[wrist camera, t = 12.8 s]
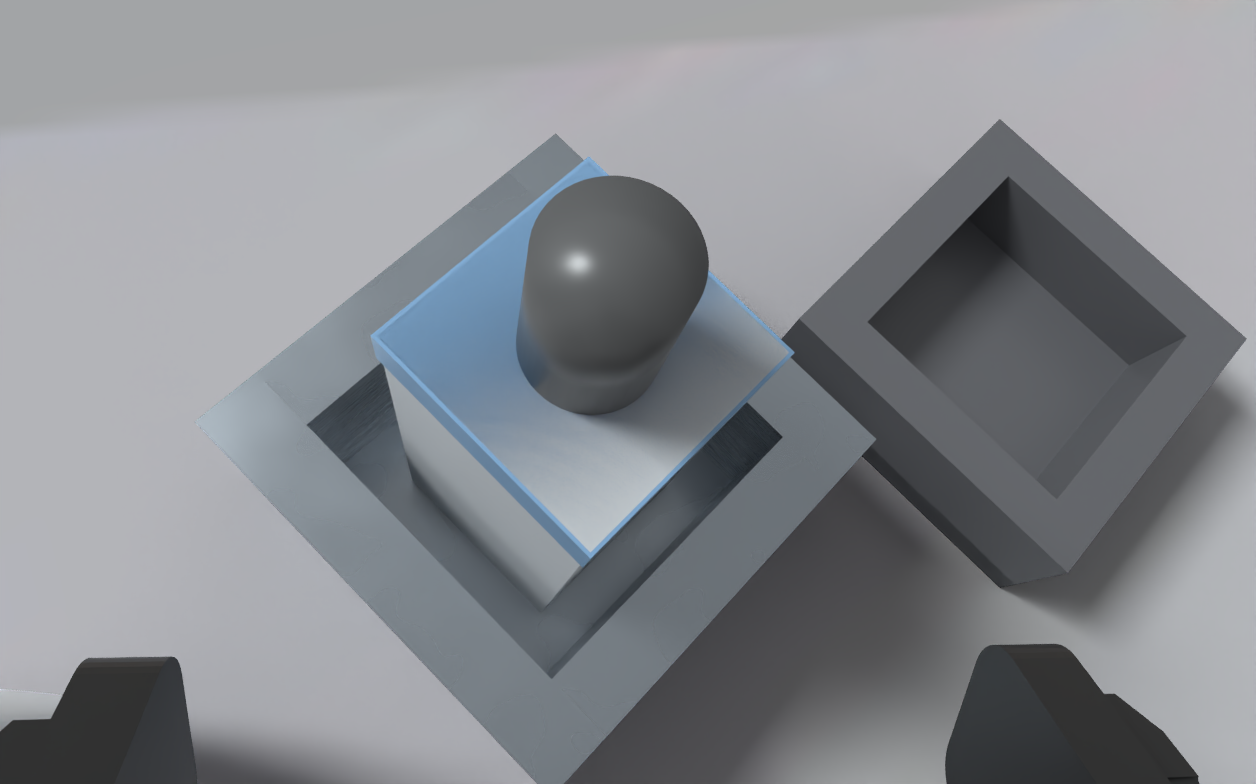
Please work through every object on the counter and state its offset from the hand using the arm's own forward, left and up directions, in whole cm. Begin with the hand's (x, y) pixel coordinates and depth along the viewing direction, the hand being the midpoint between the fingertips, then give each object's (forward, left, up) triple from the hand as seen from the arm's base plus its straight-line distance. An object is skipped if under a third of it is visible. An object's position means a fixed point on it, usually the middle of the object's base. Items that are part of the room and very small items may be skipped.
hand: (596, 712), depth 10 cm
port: (+3, +3, -9) cm, 10 cm away
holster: (+12, -2, -9) cm, 15 cm away
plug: (+3, +3, -9) cm, 10 cm away
